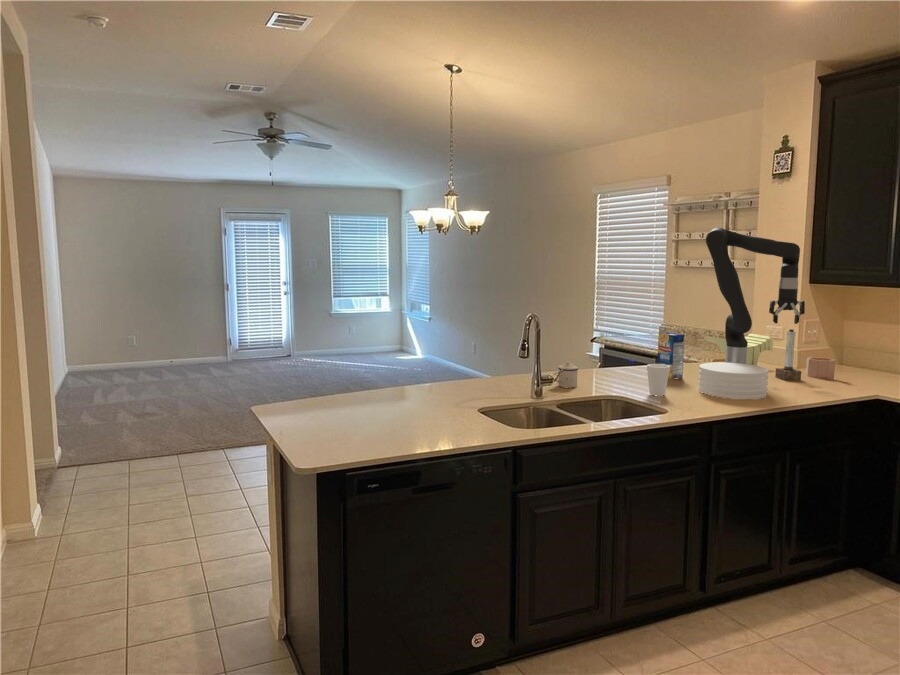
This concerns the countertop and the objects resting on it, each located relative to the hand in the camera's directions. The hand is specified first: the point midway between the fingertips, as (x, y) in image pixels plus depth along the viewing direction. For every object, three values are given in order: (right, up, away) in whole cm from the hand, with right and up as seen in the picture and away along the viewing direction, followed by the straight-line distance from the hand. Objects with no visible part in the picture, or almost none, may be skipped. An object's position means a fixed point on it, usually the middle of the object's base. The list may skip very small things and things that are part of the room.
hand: (785, 323), depth 287 cm
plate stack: (-27, -31, -4) cm, 41 cm away
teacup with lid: (-99, -29, +7) cm, 103 cm away
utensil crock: (+31, -27, +27) cm, 49 cm away
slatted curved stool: (+2, -24, +54) cm, 59 cm away
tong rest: (+11, -28, +20) cm, 36 cm away
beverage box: (-42, -26, +31) cm, 59 cm away
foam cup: (-62, -32, -9) cm, 70 cm away
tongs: (+11, -26, +20) cm, 35 cm away
